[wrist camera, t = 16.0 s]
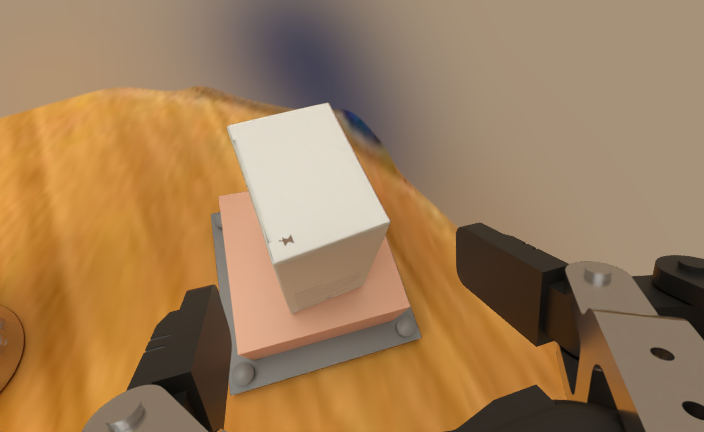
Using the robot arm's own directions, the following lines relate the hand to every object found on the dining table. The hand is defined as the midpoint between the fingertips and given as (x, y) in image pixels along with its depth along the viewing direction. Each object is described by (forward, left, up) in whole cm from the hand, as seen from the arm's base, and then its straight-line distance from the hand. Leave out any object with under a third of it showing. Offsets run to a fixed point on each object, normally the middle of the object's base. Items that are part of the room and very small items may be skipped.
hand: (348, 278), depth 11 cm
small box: (0, +6, -13) cm, 14 cm away
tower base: (0, +6, -20) cm, 21 cm away
